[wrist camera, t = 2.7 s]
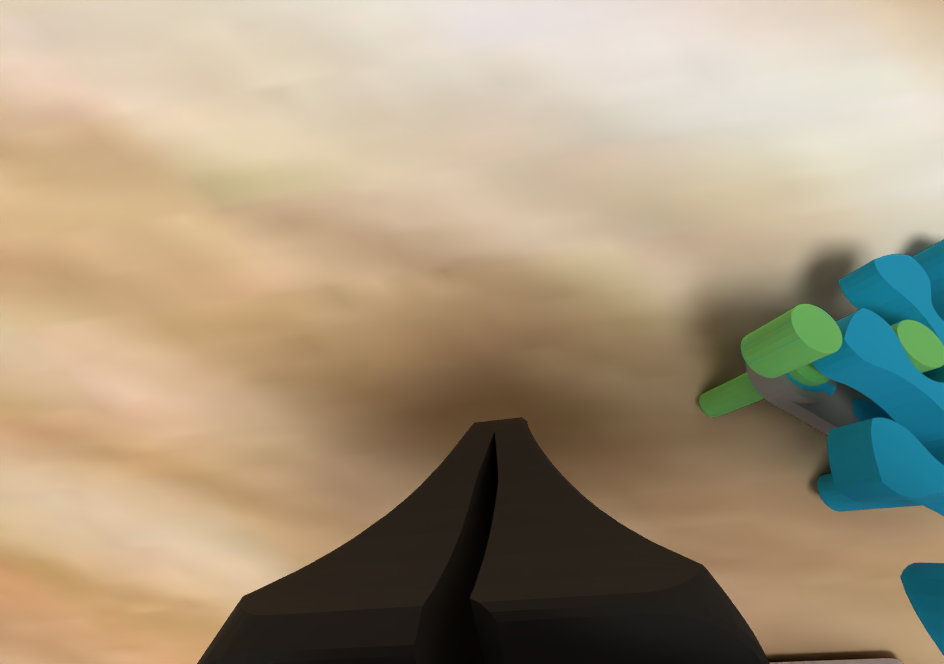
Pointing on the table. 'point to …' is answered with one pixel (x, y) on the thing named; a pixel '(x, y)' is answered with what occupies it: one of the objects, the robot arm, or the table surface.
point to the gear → (865, 395)
